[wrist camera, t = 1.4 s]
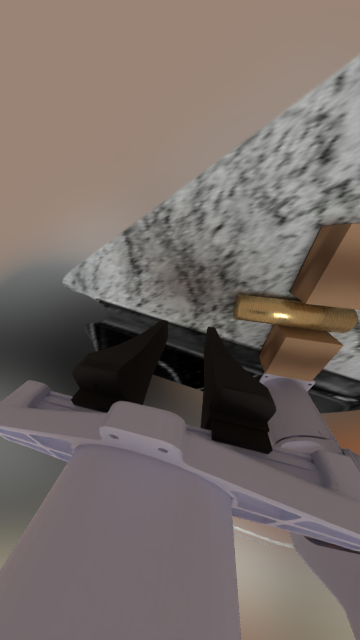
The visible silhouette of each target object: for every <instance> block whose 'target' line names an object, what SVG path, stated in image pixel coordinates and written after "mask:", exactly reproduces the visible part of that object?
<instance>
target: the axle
mask: <svg viewBox="0 0 360 640" xmlns="http://www.w3.org/2000/svg"><path fill="white" fill-rule="evenodd" d="M233 318H234V319H237V320H245V321H252V322H260V323H267V324H275V325H282V326H290V327H297V328H305V329H313V330H320V331H328V332H335V333H346V332H348V331H350V330H351V329H353V328H354V326H355V325H356V323H357V319H358V316H357V312H356V311H355V310H354V309H348V308H339V307H330V306H321V305H312V304H305V303H304V302H302V301H294V300H285V299H275V298H266V297H257V296H248V295H238V296H237V297H236V300H235V303H234V308H233Z"/></svg>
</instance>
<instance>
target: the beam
mask: <svg viewBox="0 0 360 640" xmlns="http://www.w3.org/2000/svg"><path fill="white" fill-rule="evenodd" d="M290 293H291V294H293V295H294V296H296V297H297V298H298V299H300V300H301V301H302V302H304V303H305V304H312V305H321V306H330V307H339V308H348V309H357V310H360V224H355V223H351V224H339V225H327V226H322V228H321V230H320V232H319V234H318V236H317V238H316V240H315V242H314V244H313V246H312V248H311V250H310V252H309V254H308V256H307V258H306V260H305V263H304V265H303V267H302V269H301V271H300V273H299V275H298V277H297V279H296V281H295V283H294V285H293V287H292V289H291V291H290ZM342 347H343V344H341V343H340V342H339V341H338V340H337V339H335V338H334V337H333V336H332V335H331V334H329V333H328V332H327V331H320V330H313V329H305V328H297V327H290V326H282V325H275V324H274V326H273V328H272V330H271V332H270V334H269V336H268V338H267V340H266V342H265V344H264V346H263V348H262V350H261V353H260V355H259V359H260V362H261V364H262V367H263V369H264V372H265V374H270V375H276V376H281V377H287V378H292V379H298V380H304V381H309V382H311V381H312V380H313V379H314V378H315V377H316V376H317V374H318V373H319V372H320V371H321V370H322V369H323V368H324V367H325V366H326V364H327V363H328V362H329V361H330V360H331V359H332V358H333V357H334V356H335V354H336V353H337V352H338V351H339V350H340V349H341V348H342Z"/></svg>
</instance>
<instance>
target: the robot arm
mask: <svg viewBox="0 0 360 640" xmlns="http://www.w3.org/2000/svg"><path fill="white" fill-rule="evenodd" d="M167 339H168V321H165V320H161V321H159V322H158V323H156V324H155V325H154V326H152V327H151V328H150V329H148V330H147V331H145V332H143V333H142V334H140V335H138V336H137V337H135V338H133V339H131V340H129V341H127V342H124V343H122V344H119V345H117V346H114V347H111V348H108V349H104V350H101V351H97V352H93V353H89V354H87V355H86V356H85V357H84V358H83V359H82V360H81V361H80V362H79V363H78V364H77V365H76V366H75V367H74V368H73V370H72V374H73V376H74V379H75V380H76V382H77V384H78V386H79V387H80V389H79V391H78V392H77V393H76V394H75V395H74V396H73V397H72V396H68V395H63V394H60V393H56V392H52V391H50V389H49V387H48V386H47V385H45V384H43V383H39V382H35V381H31V380H29V381H27V382H26V383H25V384H23V385H22V386H21V387H20V388H18V389H17V390H16V391H14V392H13V393H12V394H11V395H9V396H8V397H7V398H5V399H4V400H3V401H2V402H1V403H0V436H2V437H3V438H5V439H7V440H9V441H12V442H15V443H18V444H21V445H24V446H27V447H30V448H32V449H35V450H38V451H41V452H43V453H46V454H49V455H51V456H53V457H56V458H59V459H61V460H64V461H66V462H68V463H67V465H66V466H65V468H64V470H63V471H62V473H61V474H60V476H59V477H58V479H57V481H56V482H55V484H54V486H53V487H52V489H51V490H50V492H49V493H48V495H47V496H46V498H45V500H44V501H43V503H42V504H41V506H40V508H39V509H38V511H37V512H36V514H35V516H34V517H33V519H32V520H31V522H30V524H29V525H28V527H27V528H26V530H25V532H24V533H23V535H22V536H21V538H20V539H19V541H18V543H17V544H16V546H15V548H14V549H13V550H12V552H11V554H10V555H9V557H8V559H7V560H6V562H5V563H4V565H3V566H2V568H1V570H0V640H241V630H240V616H239V603H238V590H237V577H236V563H235V549H234V537H233V536H234V535H233V522H232V516H234V517H237V518H241V519H245V520H249V521H252V522H256V523H260V524H264V525H267V526H271V527H275V528H279V529H283V530H286V531H289V534H290V537H291V539H292V542H293V544H294V547H295V550H296V552H297V553H298V555H299V556H300V557H301V559H302V560H303V561H304V562H305V563H306V565H308V567H309V568H310V569H311V570H312V572H313V573H314V574H315V575H316V576H317V577H318V578H319V580H320V581H321V582H322V583H323V584H324V585H325V587H326V588H327V589H328V590H329V591H330V592H331V594H332V595H333V596H334V597H335V598H336V599H337V601H338V602H339V603H340V604H341V606H342V607H343V609H344V610H345V612H346V615H347V617H348V620H349V623H350V625H351V628H352V630H353V633H354V636H355V638H356V640H360V455H358V454H356V453H354V452H352V451H351V450H350V449H343V448H341V446H340V445H339V444H338V442H337V440H336V439H335V437H334V436H333V434H332V432H331V431H330V429H329V427H328V426H327V424H326V422H325V421H324V419H323V418H322V416H321V414H320V413H319V411H318V409H317V408H316V406H315V404H314V403H313V401H312V400H311V398H310V396H309V395H308V393H307V391H308V390H309V389H310V388H311V387H312V386H313V385H314V384H315V381H314V380H312V381H311V382H309V381H304V380H298V379H292V378H287V377H281V376H276V375H270V374H265V372H264V373H263V375H262V377H261V378H260V380H259V381H258V380H256V379H255V378H254V377H253V376H252V375H250V374H249V373H248V372H247V371H246V370H245V369H244V368H243V367H242V366H241V365H240V364H239V363H238V362H237V361H236V360H235V359H234V358H233V357H232V355H231V354H230V353H229V351H228V350H227V348H226V347H225V345H224V344H223V342H222V340H221V339H220V337H219V335H218V333H217V331H216V329H215V328H213V327H208V329H207V334H206V340H205V346H204V393H203V405H202V417H201V428H198V427H194V426H190V425H186V424H185V422H184V420H183V419H182V418H181V417H180V416H178V415H177V414H174V413H171V412H169V411H165V410H161V409H157V408H153V407H148V406H144V405H143V402H144V399H145V396H146V393H147V390H148V386H149V384H150V380H151V377H152V375H153V372H154V369H155V367H156V365H157V363H158V361H159V359H160V356H161V354H162V352H163V350H164V348H165V345H166V342H167Z"/></svg>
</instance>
